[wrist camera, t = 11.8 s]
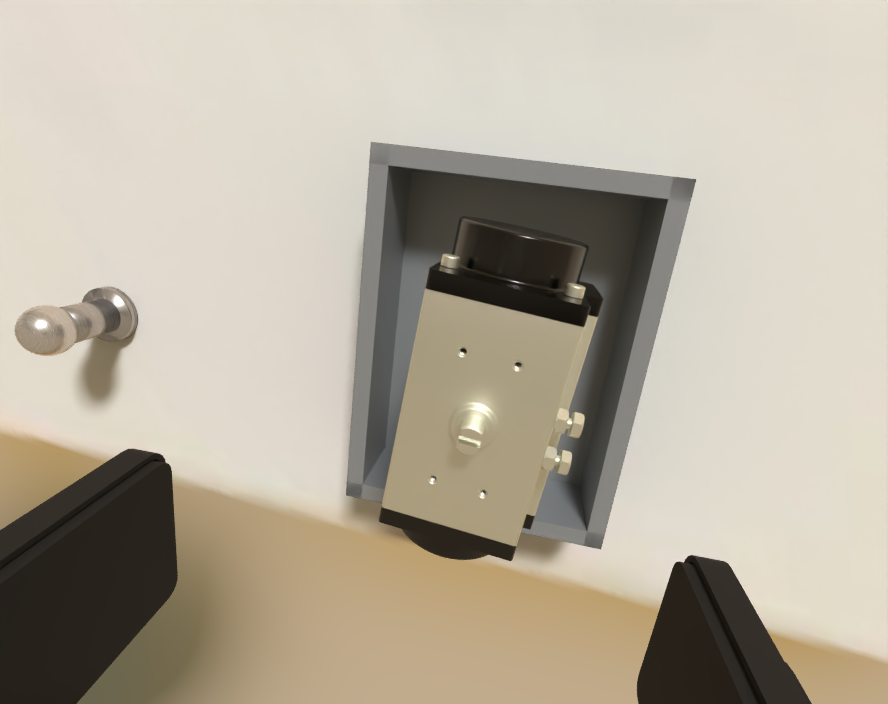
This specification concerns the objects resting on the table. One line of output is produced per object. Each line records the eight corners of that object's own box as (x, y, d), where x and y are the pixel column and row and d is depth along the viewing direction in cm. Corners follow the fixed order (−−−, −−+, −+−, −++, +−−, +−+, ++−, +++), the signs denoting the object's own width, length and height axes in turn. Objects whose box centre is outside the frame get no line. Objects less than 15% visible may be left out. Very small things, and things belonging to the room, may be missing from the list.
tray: (373, 452, 30) (346, 495, 25) (399, 152, 25) (370, 142, 20) (590, 495, 28) (600, 549, 24) (666, 183, 23) (696, 179, 19)
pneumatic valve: (432, 425, 28) (360, 578, 17) (480, 210, 24) (430, 218, 13) (530, 452, 27) (525, 629, 16) (594, 236, 24) (647, 268, 12)
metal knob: (92, 334, 31) (0, 362, 26) (87, 283, 30) (-10, 300, 25) (139, 343, 30) (55, 372, 25) (135, 291, 29) (48, 310, 24)
